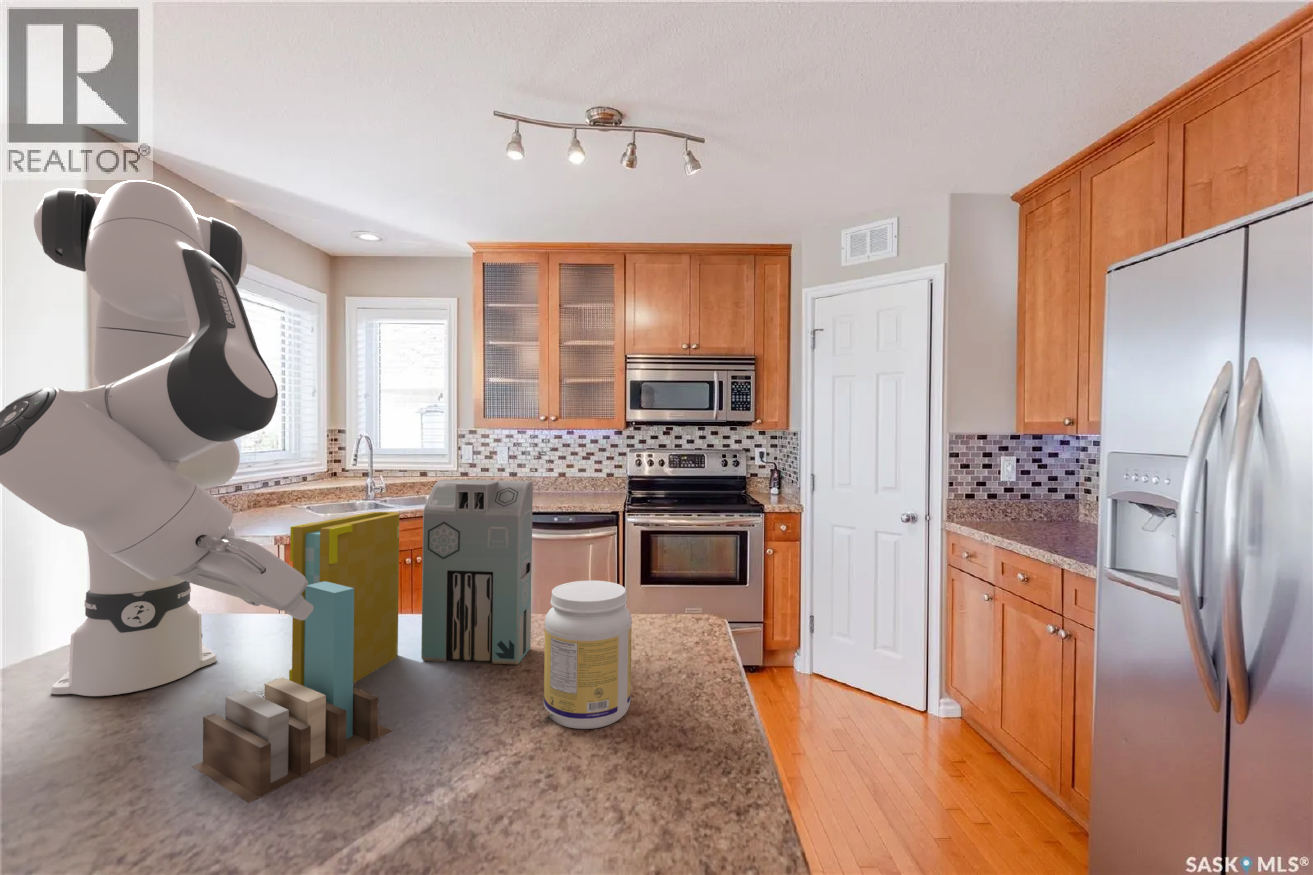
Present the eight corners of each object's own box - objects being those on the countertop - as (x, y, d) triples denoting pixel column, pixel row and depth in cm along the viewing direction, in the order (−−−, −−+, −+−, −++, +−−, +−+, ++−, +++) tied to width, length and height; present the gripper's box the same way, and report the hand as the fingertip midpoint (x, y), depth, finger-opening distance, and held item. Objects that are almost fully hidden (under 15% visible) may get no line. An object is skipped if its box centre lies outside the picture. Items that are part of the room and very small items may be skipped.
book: (330, 709, 78) (332, 529, 78) (288, 704, 80) (290, 526, 80) (407, 661, 95) (409, 512, 95) (371, 658, 96) (373, 510, 96)
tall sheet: (304, 731, 70) (305, 585, 70) (323, 722, 72) (325, 581, 72) (332, 745, 67) (334, 592, 67) (352, 735, 69) (354, 588, 69)
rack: (191, 779, 62) (192, 720, 62) (335, 717, 76) (335, 669, 76) (248, 817, 57) (249, 752, 56) (392, 742, 70) (393, 690, 70)
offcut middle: (263, 742, 67) (264, 683, 67) (282, 734, 69) (282, 677, 69) (307, 765, 63) (307, 702, 63) (325, 756, 65) (325, 695, 65)
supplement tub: (575, 683, 88) (577, 574, 88) (645, 701, 82) (647, 585, 82) (524, 719, 77) (526, 594, 77) (601, 742, 71) (603, 608, 71)
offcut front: (225, 759, 64) (225, 697, 64) (245, 750, 66) (245, 690, 66) (267, 784, 59) (268, 717, 59) (288, 774, 61) (288, 709, 61)
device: (420, 662, 95) (422, 483, 95) (441, 645, 103) (443, 479, 102) (517, 666, 94) (520, 485, 94) (530, 648, 102) (533, 481, 101)
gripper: (257, 516, 53) (357, 596, 61) (161, 501, 63) (258, 571, 72) (200, 574, 49) (314, 650, 58) (107, 548, 59) (216, 616, 68)
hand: (282, 606), depth 65 cm, fingers open, 8 cm apart
